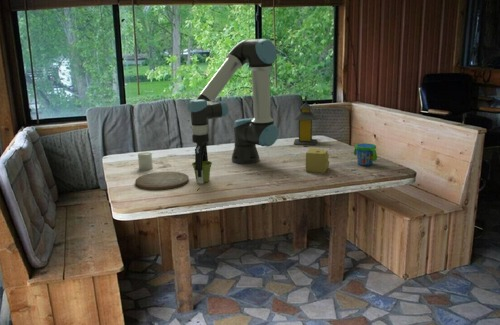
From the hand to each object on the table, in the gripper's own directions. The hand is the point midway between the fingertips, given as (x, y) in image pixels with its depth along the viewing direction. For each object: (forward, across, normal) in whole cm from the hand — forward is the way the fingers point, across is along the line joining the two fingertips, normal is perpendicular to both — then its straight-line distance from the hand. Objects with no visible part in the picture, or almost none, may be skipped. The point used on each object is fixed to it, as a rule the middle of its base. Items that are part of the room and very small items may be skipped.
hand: (202, 180), depth 224 cm
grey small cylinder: (+1, -20, -35) cm, 40 cm away
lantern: (+2, -86, +47) cm, 98 cm away
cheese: (+1, -24, +54) cm, 59 cm away
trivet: (+1, +2, -19) cm, 19 cm away
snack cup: (+1, -36, +79) cm, 87 cm away
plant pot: (+1, 0, 0) cm, 1 cm away
